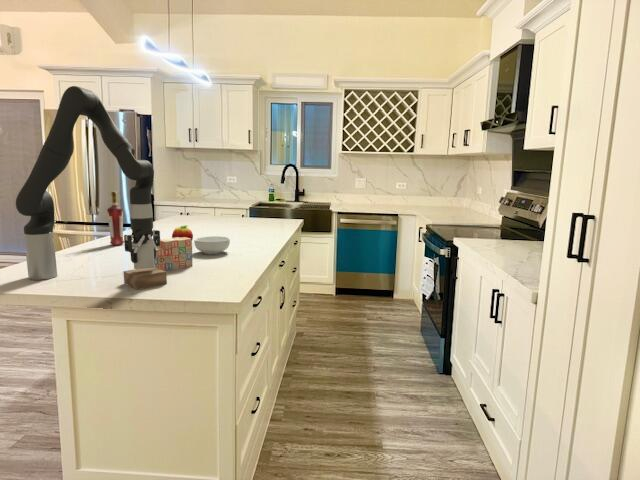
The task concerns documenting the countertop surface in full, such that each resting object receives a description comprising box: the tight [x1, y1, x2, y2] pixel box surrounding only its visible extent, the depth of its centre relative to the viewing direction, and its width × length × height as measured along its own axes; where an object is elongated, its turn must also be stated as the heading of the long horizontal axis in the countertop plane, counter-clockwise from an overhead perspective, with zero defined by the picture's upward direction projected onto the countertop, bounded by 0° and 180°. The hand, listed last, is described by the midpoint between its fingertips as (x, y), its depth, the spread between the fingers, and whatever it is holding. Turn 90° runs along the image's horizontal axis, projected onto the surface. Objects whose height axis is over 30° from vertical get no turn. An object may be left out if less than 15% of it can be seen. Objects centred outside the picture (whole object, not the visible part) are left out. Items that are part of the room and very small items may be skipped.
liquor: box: [106, 191, 124, 246], centre depth 227 cm, size 7×7×28 cm
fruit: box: [171, 225, 194, 240], centre depth 233 cm, size 11×11×10 cm
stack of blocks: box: [154, 237, 194, 271], centre depth 182 cm, size 21×6×12 cm, turn 133°
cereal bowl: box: [193, 235, 231, 255], centre depth 214 cm, size 17×17×7 cm
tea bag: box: [133, 240, 155, 270], centre depth 159 cm, size 4×7×10 cm, turn 109°
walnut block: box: [122, 267, 168, 291], centre depth 160 cm, size 11×11×5 cm
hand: (143, 260), depth 159 cm, fingers closed on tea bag, 7 cm apart
